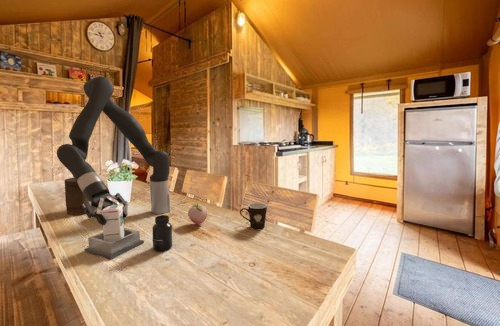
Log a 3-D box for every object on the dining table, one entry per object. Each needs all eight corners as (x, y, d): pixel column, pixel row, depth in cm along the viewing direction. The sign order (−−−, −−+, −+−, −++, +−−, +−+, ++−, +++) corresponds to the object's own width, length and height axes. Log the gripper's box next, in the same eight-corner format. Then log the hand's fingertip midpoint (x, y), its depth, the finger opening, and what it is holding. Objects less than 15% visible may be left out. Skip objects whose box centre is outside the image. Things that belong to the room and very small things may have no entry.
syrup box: (121, 247, 90) (119, 208, 89) (103, 248, 89) (101, 209, 87) (125, 240, 96) (123, 204, 94) (108, 242, 94) (105, 205, 93)
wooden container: (104, 209, 137) (101, 170, 135) (74, 217, 125) (70, 174, 122) (91, 205, 145) (88, 168, 143) (61, 212, 133) (57, 172, 130)
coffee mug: (269, 225, 115) (269, 204, 114) (262, 231, 107) (262, 209, 106) (247, 221, 120) (247, 201, 119) (238, 227, 112) (238, 206, 111)
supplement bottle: (154, 254, 87) (152, 221, 86) (152, 246, 93) (150, 215, 92) (174, 249, 90) (173, 218, 89) (170, 242, 97) (169, 212, 95)
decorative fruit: (211, 224, 116) (211, 203, 114) (197, 229, 110) (196, 207, 108) (199, 219, 122) (199, 200, 121) (185, 224, 116) (184, 203, 115)
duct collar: (119, 236, 102) (118, 225, 101) (144, 242, 96) (143, 230, 95) (84, 251, 89) (83, 238, 88) (111, 259, 83) (110, 245, 83)
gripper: (77, 184, 86) (101, 220, 83) (114, 177, 99) (136, 208, 96) (69, 197, 89) (92, 233, 86) (106, 189, 102) (127, 219, 99)
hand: (115, 220), depth 91 cm, fingers open, 8 cm apart
